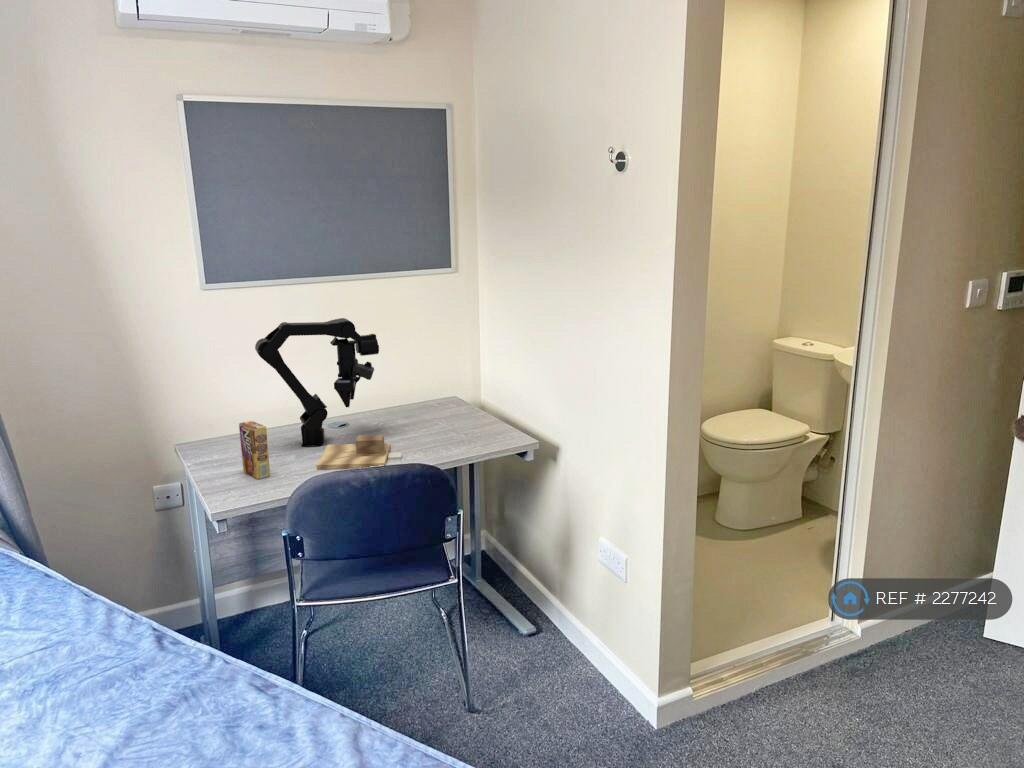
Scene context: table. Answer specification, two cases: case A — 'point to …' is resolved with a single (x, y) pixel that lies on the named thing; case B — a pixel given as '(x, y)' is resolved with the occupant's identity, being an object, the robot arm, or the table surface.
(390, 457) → the white square tile
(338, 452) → the oak board
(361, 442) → the block
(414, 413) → the table surface
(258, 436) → the candy box
